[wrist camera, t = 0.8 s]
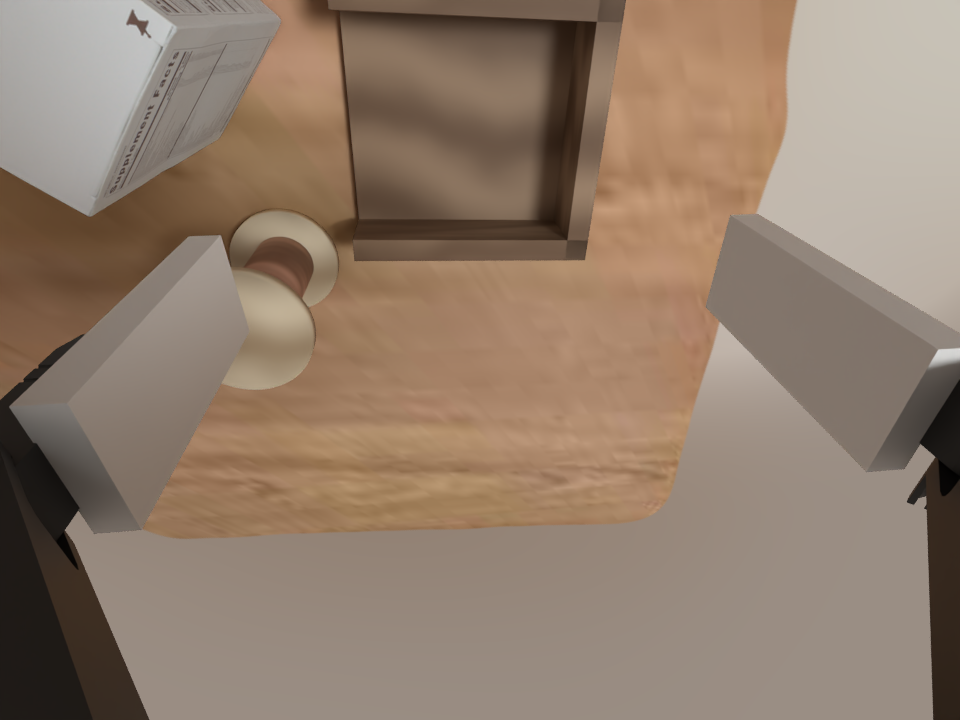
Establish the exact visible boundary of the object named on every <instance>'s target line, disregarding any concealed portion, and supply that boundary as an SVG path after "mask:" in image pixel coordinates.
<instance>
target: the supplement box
mask: <svg viewBox="0 0 960 720" xmlns="http://www.w3.org/2000/svg"><path fill="white" fill-rule="evenodd" d="M280 24H281V19H280V18H279V17H278V16H277V15H276V14H275V13H274V12H273V11H272V10H271V9H269V8H268V7H267V6H266V5H265V4H264V3H262V2H261V1H260V0H0V167H1V168H2V169H4V170H6V171H8V172H9V173H11V174H13V175H15V176H16V177H18V178H20V179H22V180H24V181H25V182H27V183H29V184H31V185H33V186H34V187H36V188H38V189H40V190H42V191H43V192H45V193H47V194H49V195H51V196H52V197H54V198H56V199H58V200H60V201H61V202H63V203H65V204H67V205H69V206H70V207H72V208H74V209H76V210H77V211H79V212H81V213H83V214H85V215H86V216H89V217H90V216H93V215H95V214H96V213H98V212H99V211H101V210H103V209H104V208H106V207H108V206H109V205H111V204H112V203H114V202H116V201H117V200H119V199H121V198H122V197H124V196H126V195H127V194H129V193H130V192H132V191H134V190H135V189H137V188H139V187H140V186H142V185H143V184H145V183H146V182H148V181H149V180H151V179H152V178H154V177H155V176H157V175H158V174H160V173H161V172H163V171H165V170H167V169H169V168H171V167H173V166H175V165H176V164H178V163H180V162H182V161H183V160H185V159H186V158H188V157H190V156H191V155H193V154H195V153H196V152H198V151H200V150H201V149H203V148H204V147H206V146H208V145H209V144H211V143H213V142H214V141H216V140H218V139H219V138H220V137H221V135H222V133H223V131H224V130H225V128H226V126H227V124H228V122H229V121H230V119H231V117H232V115H233V113H234V111H235V109H236V108H237V106H238V104H239V102H240V100H241V98H242V96H243V94H244V92H245V90H246V88H247V86H248V84H249V83H250V81H251V79H252V77H253V75H254V73H255V71H256V69H257V68H258V66H259V64H260V62H261V60H262V58H263V56H264V54H265V53H266V51H267V49H268V47H269V45H270V43H271V41H272V40H273V38H274V36H275V34H276V32H277V30H278V28H279V26H280Z"/></svg>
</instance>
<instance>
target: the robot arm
mask: <svg viewBox="0 0 960 720" xmlns="http://www.w3.org/2000/svg"><path fill="white" fill-rule="evenodd" d="M706 308H707V309H708V310H709V311H710V312H711V313H712V314H713V315H714V316H715V317H716V318H717V319H718V320H719V321H720V322H721V323H722V324H723V325H724V326H725V327H726V328H727V329H728V330H729V331H730V332H731V334H732V335H734V337H735V338H736V339H737V340H738V341H739V342H740V343H741V344H742V345H743V346H744V347H745V348H746V349H747V350H748V351H749V352H750V353H751V354H752V355H753V356H754V357H755V358H756V359H757V360H758V361H759V362H760V363H761V364H762V365H763V366H764V367H765V368H766V370H767V371H768V372H769V373H771V375H772V376H774V378H775V379H776V380H777V381H778V382H779V383H780V384H781V385H782V386H783V387H784V388H785V389H786V390H787V391H788V392H789V393H790V394H791V395H792V396H793V397H794V398H795V399H796V400H797V401H798V402H799V403H800V404H801V405H802V406H803V407H804V409H805V410H806V411H807V412H809V414H810V415H811V416H812V417H813V418H814V419H815V420H816V421H817V422H818V423H819V424H820V425H821V426H822V427H823V428H824V429H825V430H826V431H827V432H828V433H829V434H830V435H831V436H832V437H833V438H834V439H835V440H836V441H837V442H838V443H839V444H840V445H841V446H842V447H843V449H844V450H846V452H847V453H848V454H850V456H851V457H852V458H853V459H854V460H855V461H856V462H857V463H858V464H859V465H860V466H861V467H862V468H863V469H864V470H865V471H866V472H873V471H886V470H898V469H905V467H906V466H907V464H908V462H909V461H910V459H911V458H912V456H913V455H914V453H915V452H916V450H917V448H918V447H919V445H920V444H921V445H922V446H924V447H925V448H926V449H927V450H928V451H929V452H931V453H932V454H933V455H934V456H935V459H934V461H933V462H932V463H931V465H930V466H929V468H928V469H927V471H926V472H925V473H924V475H923V477H922V478H921V479H920V481H919V483H918V484H917V486H916V487H915V488H914V490H913V491H912V493H911V494H910V496H909V498H908V500H907V502H908V503H910V504H915V502H916V501H917V499H918V498H921V497H925V496H926V498H927V505H926V506H925V508H924V509H926V510H927V530H928V563H929V591H930V592H929V595H930V626H931V658H932V690H933V720H960V333H959V332H957V331H955V330H953V329H952V328H950V327H948V326H947V325H945V324H943V323H942V322H940V321H938V320H937V319H935V318H933V317H931V316H930V315H928V314H926V313H925V312H923V311H921V310H919V309H918V308H916V307H915V306H913V305H911V304H909V303H908V302H906V301H904V300H903V299H901V298H899V297H898V296H896V295H894V294H892V293H891V292H889V291H887V290H886V289H884V288H882V287H881V286H879V285H877V284H875V283H874V282H872V281H871V280H869V279H867V278H865V277H864V276H862V275H860V274H859V273H857V272H855V271H853V270H852V269H850V268H848V267H846V266H845V265H843V264H842V263H840V262H838V261H837V260H835V259H833V258H832V257H830V256H828V255H826V254H825V253H823V252H821V251H820V250H818V249H816V248H814V247H813V246H811V245H810V244H808V243H806V242H804V241H803V240H801V239H799V238H798V237H796V236H794V235H792V234H791V233H789V232H787V231H786V230H784V229H782V228H781V227H779V226H777V225H776V224H774V223H772V222H770V221H769V220H767V219H765V218H764V217H762V216H760V215H759V214H745V215H730V218H729V222H728V226H727V229H726V233H725V237H724V240H723V244H722V248H721V251H720V255H719V259H718V263H717V266H716V270H715V274H714V277H713V281H712V285H711V289H710V292H709V296H708V300H707V303H706ZM248 333H249V327H248V324H247V321H246V317H245V314H244V311H243V307H242V304H241V301H240V297H239V294H238V291H237V287H236V284H235V281H234V277H233V274H232V271H231V267H230V264H229V261H228V257H227V254H226V251H225V247H224V244H223V241H222V238H221V235H211V236H188V237H187V238H186V239H185V240H184V241H183V242H182V243H181V244H180V245H179V246H178V247H177V248H176V249H175V250H174V251H173V252H172V253H171V254H169V255H168V256H167V257H166V258H165V259H164V260H163V261H162V262H161V263H160V264H159V265H158V266H157V267H156V268H155V269H154V270H153V271H152V272H151V273H149V274H148V275H147V276H146V277H145V278H144V279H143V280H142V281H141V282H140V283H139V284H138V285H137V286H136V287H135V288H134V289H133V290H132V291H130V292H129V293H128V294H127V295H126V296H125V297H124V298H123V299H122V300H121V301H120V302H119V303H118V304H117V305H116V306H115V307H114V308H113V309H111V310H110V311H109V312H108V313H107V314H106V315H105V316H104V317H103V318H102V319H101V320H100V321H99V322H98V323H97V324H96V325H95V326H94V327H93V328H91V329H90V330H89V331H88V332H87V333H86V334H83V335H81V336H79V337H77V338H75V339H73V340H72V341H70V342H68V343H66V344H64V345H63V346H61V347H59V348H57V349H56V350H55V351H53V352H52V353H51V354H50V355H49V356H48V357H47V358H46V359H45V360H44V361H42V362H41V363H40V364H39V365H38V366H39V368H38V369H34V370H33V371H32V372H30V373H29V374H28V375H27V376H26V377H25V378H24V379H23V380H24V382H20V383H18V384H17V385H16V386H15V387H14V388H13V389H12V390H11V391H10V392H9V393H7V394H6V395H5V396H4V397H3V398H2V399H1V400H0V720H149V718H148V716H147V713H146V711H145V709H144V707H143V704H142V702H141V699H140V697H139V694H138V692H137V690H136V688H135V685H134V683H133V681H132V678H131V676H130V673H129V671H128V669H127V666H126V664H125V662H124V659H123V657H122V655H121V652H120V650H119V648H118V645H117V643H116V641H115V638H114V636H113V633H112V631H111V629H110V626H109V624H108V622H107V619H106V617H105V615H104V613H103V610H102V608H101V605H100V603H99V601H98V598H97V596H96V594H95V591H94V589H93V587H92V584H91V582H90V580H89V577H88V575H87V573H86V570H85V568H84V565H83V563H82V561H81V558H80V556H79V554H78V551H77V549H76V547H75V544H74V543H73V541H72V540H71V539H70V537H69V536H68V534H67V533H66V531H65V529H66V527H67V526H68V525H69V523H70V522H71V520H72V519H73V517H74V516H75V514H76V513H77V511H79V512H80V513H81V515H82V516H83V518H84V519H85V521H86V522H87V524H88V525H89V527H90V528H91V530H92V531H93V532H94V534H97V533H110V532H122V531H134V530H142V528H143V526H144V524H145V522H146V521H147V519H148V517H149V515H150V513H151V511H152V510H153V508H154V506H155V504H156V502H157V500H158V499H159V497H160V495H161V493H162V491H163V489H164V488H165V486H166V484H167V482H168V480H169V478H170V477H171V475H172V473H173V471H174V469H175V467H176V466H177V464H178V462H179V460H180V458H181V456H182V455H183V453H184V451H185V449H186V447H187V445H188V444H189V442H190V440H191V438H192V436H193V434H194V432H195V431H196V429H197V427H198V425H199V423H200V421H201V420H202V418H203V416H204V414H205V412H206V410H207V409H208V407H209V405H210V403H211V401H212V399H213V398H214V396H215V394H216V392H217V390H218V388H219V387H220V385H221V383H222V381H223V379H224V377H225V376H226V374H227V372H228V370H229V368H230V366H231V365H232V363H233V361H234V359H235V357H236V355H237V353H238V352H239V350H240V348H241V346H242V344H243V342H244V341H245V339H246V337H247V335H248Z"/></svg>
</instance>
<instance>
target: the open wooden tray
mask: <svg viewBox="0 0 960 720" xmlns="http://www.w3.org/2000/svg"><path fill="white" fill-rule="evenodd" d="M625 3H626V0H328V8H329V9H330V10H337V11H340V22H341V32H342V43H343V54H344V64H345V75H346V86H347V96H348V107H349V118H350V128H351V139H352V149H353V160H354V171H355V181H356V192H357V203H358V213H359V221H358V224H357V227H356V231H355V234H354V237H353V250H354V259H355V261H485V260H585V256H586V249H587V243H588V237H589V230H590V224H591V218H592V211H593V205H594V199H595V192H596V186H597V180H598V173H599V167H600V161H601V155H602V148H603V142H604V136H605V129H606V123H607V117H608V110H609V104H610V98H611V91H612V85H613V79H614V72H615V66H616V60H617V53H618V47H619V41H620V34H621V28H622V22H623V16H624V9H625Z"/></svg>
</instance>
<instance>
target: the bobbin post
mask: <svg viewBox="0 0 960 720" xmlns="http://www.w3.org/2000/svg"><path fill="white" fill-rule="evenodd" d="M229 255H230V263H231V271H232V274H233V277H234V281H235V284H236V287H237V291H238V294H239V297H240V301H241V304H242V307H243V311H244V314H245V317H246V321H247V324H248V327H249V333H248V335H247V337H246V339H245V341H244V342H243V344H242V346H241V348H240V350H239V352H238V353H237V355H236V357H235V359H234V361H233V363H232V365H231V366H230V368H229V370H228V372H227V374H226V376H225V377H224V379H223V381H222V384H225V385H228V386H231V387H236V388H241V389H249V390H260V389H269V388H274V387H277V386H280V385H283V384H285V383H287V382H289V381H291V380H292V379H294V378H295V377H296V376H298V375H299V374H300V373H301V372H302V371H303V370H304V368H305V367H306V365H307V364H308V362H309V360H310V357H311V355H312V352H313V349H314V345H315V340H316V328H315V323H314V319H313V317H312V314H311V312H310V310H309V308H308V307H310V306H313V305H315V304H317V303H318V302H320V301H321V300H323V299H324V298H325V297H326V296H327V295H328V294H329V293H330V291H331V290H332V288H333V286H334V284H335V281H336V278H337V275H338V270H339V258H338V253H337V250H336V247H335V245H334V242H333V240H332V239H331V237H330V236H329V234H328V233H327V232H326V231H325V230H324V228H322V227H321V226H320V225H319V224H318V223H317V222H315V221H314V220H313V219H311V218H309V217H308V216H306V215H304V214H301V213H299V212H296V211H292V210H287V209H269V210H264V211H261V212H258V213H256V214H254V215H252V216H251V217H249V218H248V219H247V220H246V221H245V222H244V223H243V224H242V225H241V226H240V227H239V228H238V229H237V231H236V232H235V234H234V236H233V238H232V241H231V244H230V250H229Z"/></svg>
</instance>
